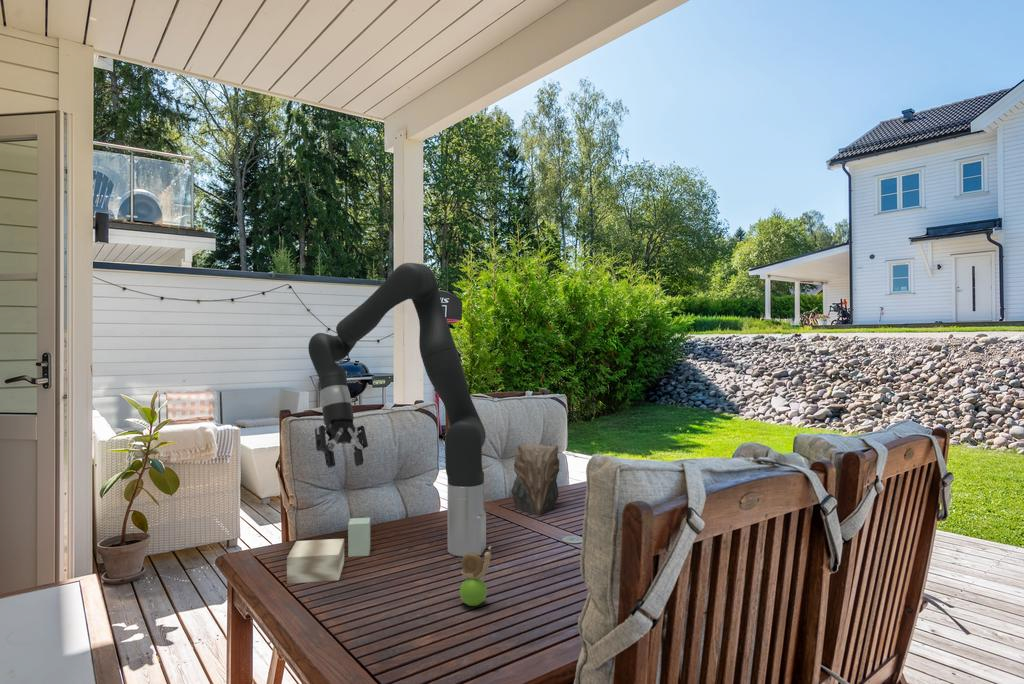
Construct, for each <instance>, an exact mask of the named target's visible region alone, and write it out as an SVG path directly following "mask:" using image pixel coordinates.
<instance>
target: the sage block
mask: <svg viewBox="0 0 1024 684" xmlns="http://www.w3.org/2000/svg"><path fill="white" fill-rule="evenodd" d="M347 537H348V538H347V540H348V541H347V557H349V558H350V557H366V556H370V552H371V517H357V518H356V517H355V518H353V517H352V518H349V521H348V524H347Z"/></svg>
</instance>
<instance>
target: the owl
mask: <svg viewBox="0 0 1024 684" xmlns="http://www.w3.org/2000/svg"><path fill="white" fill-rule="evenodd" d="M558 447H559V446H558V445H549V444H545V443H539V444H536V445H535V444H532V445H529V444H528V445H527V444H517V450H518V452H517V455H516V457H515V459H514V463H513V470H514V472H515V474H516V477H515V480H514V481H513V486H512V489H511V491H510V492H511V495H512V498H513V503H514V506H515V507H514V509H515V510H518V511H521V512H524V513H527V514H530V515H534V516H540V517H541V516H542V515H545V514H547V513H548V512H550V511H552V510H554V509H556V504H557V500H558V498H559V487H558V483H557V480H558V475H559V472H560V459H559V457H558V454H559V448H558Z"/></svg>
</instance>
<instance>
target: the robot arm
mask: <svg viewBox="0 0 1024 684" xmlns="http://www.w3.org/2000/svg"><path fill="white" fill-rule="evenodd" d="M407 300H411V301H412V303H413V306H414V308H415V311H416V314H417V318H418V323H419V336H418V337H419V339H418V340H419V342H418V343H419V345H418V346H419V354H420V358H421V360H422V364H423V366H424V369H425V373H426V374H427V378H428V379H429V381H430V384H431V385H432V387H433V389H434V390H435V392H436V393H437V395H438V396H439V398H440V399H441V401H442V404H443V405H444V408H445V412H446V415H447V419H448V422H449V423H448V424H449V427H448V429H447V431H446V433H445V437H444V438H445V440H444V455H445V456H444V458H445V459H444V460H445V461H444V463H445V474H446V476H447V541H446V542H447V543H446V544H447V553H449V554H450V555H452V556H456V557H464V556H465V555H466V554H468V553H475V554H477V555H479V556H482V554H484V553H483V552H484V551H485V550H486V548H487V511H486V510H485V473H484V470H483V460H482V459H483V458H482V457H483V456H482V455H483V454H482V453H483V451H482V450H483V449H482V448H483V446H484V444H485V442H486V437H487V436H486V434H487V433H486V429H485V427H484V424H483V421H482V420H481V418H480V416H479V414H478V411H477V409H476V407H475V405H474V402H473V400H472V397H471V394H470V391H469V390H470V389H469V387H468V383H467V379H466V374H465V371H464V368H463V365H462V362H461V358H460V355H459V352H458V349H457V346H456V343H455V341H454V338H453V335H452V332H451V329H450V326H449V323H448V320H447V318H446V314H445V312H444V307H443V304H442V300H441V295H440V290H439V286H438V282H437V278H436V275H435V273H434V271H433V270H432V269H431V268H430V267H429V266H427V265H425V264H423V263H418V262H405V263H402V264H400V265H398V266H397V267H396V268H395V269H394V270H393V271H392V272H391V273H390V275H389V276H388V277H387V278H386V279H385V280H384V281H383V282H382V284H381V285H380V286H379V287H378V288H377V289H376V290H375V291H374V292H373V293H372V294H371V295H370V296H369V297H368V298H367V299H365V301H363V303H362V304H360V305H359V306H358V307H357V308H355V309H354V310H353V311H350V313H349V314H347V315H346V316H345V317H344V318H343V319H341V320H340V321H338V323H337V325H336V327H335V330H336V334H337V335H332V334H328V333H326V332H325V333H324V332H317V333H315V334H313V335H312V336H311V338H310V339H309V342H308V348H307V349H308V355H309V357H310V361H311V362H312V363H311V364H312V365H313V368H314V370H315V372H316V374H317V376H318V381H319V388H320V402H321V410H322V417H323V418H322V419H323V423H324V425H323V424H322V425H320V426H318V427H316V428H314V434H315V447H316V451H317V452H323V454H324V461H325V465H326V466H327V468H329V469H330V468H334V467H335V466H336V461H335V454H334V453H335V452H334V451H333V450H334V448H335V445H339V444H343V445H344V444H346V445H347V446H348V447H350V448H351V449H352V450H353V459H354V464H355V467H360V466H362V465H363V463H364V461H365V460H364V455H363V450H364V449H366V448H368V447H369V443H368V438H367V435H366V429H365V426H364V425H359V426H355V425H354V420H355V418H354V410H353V403H352V400H351V393H350V390H349V386H348V381H347V374H346V371H345V369H344V367H342V366H341V365H339V364H337V363H336V362H341V361H342V360H344V359H345V358H346V357H347V356H348V355H349V354H350V352H351V351H352V350H353V349H354V347H355V346H356V344H357V343H358V342H359V341H360V340H362V339H363V338H364V337H366V336H367V335H368V334H369V333H371V332H372V330H374V329H375V328H376V327H377V326H378V325H379V324H380V322H381V321H382V320H383V318H384V317H385V315H386V314H387V313H388V312H389V311H390V310H392V309H393V308H394V307H395V306H397V305H399V304H401V303H403V302H406V301H407ZM326 435H327V437H328V438H327V439H326Z"/></svg>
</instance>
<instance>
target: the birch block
mask: <svg viewBox="0 0 1024 684" xmlns="http://www.w3.org/2000/svg"><path fill="white" fill-rule="evenodd" d="M292 546H293V547H292V548H291V550H290V551H289V554H288V555H287V557H286V584H287V585H288V584H304V583H319V582H320V583H321V582H322V583H323V582H333V581H340V578H341V575H342V571H343V568H344V564H345V538H330V539H329V538H328V539H312V540H310V539H309V540H296V541H295V543H294V545H292Z"/></svg>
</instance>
